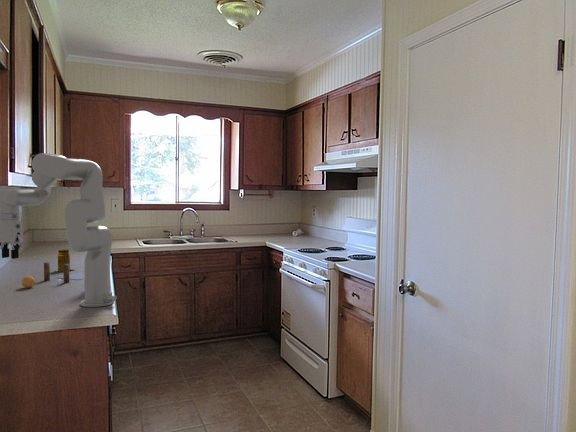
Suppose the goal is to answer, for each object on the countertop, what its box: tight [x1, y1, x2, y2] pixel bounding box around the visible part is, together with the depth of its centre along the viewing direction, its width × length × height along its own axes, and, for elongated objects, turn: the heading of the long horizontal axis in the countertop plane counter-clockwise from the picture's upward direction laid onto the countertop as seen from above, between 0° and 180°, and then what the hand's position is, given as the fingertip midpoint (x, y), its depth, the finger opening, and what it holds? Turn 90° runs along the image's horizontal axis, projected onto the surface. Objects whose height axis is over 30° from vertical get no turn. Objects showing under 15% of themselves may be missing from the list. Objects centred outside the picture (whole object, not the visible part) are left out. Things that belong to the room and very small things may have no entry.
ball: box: [21, 275, 36, 289], centre depth 206 cm, size 6×6×6 cm
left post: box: [43, 261, 51, 282], centre depth 223 cm, size 3×3×9 cm
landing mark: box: [56, 272, 85, 281], centre depth 234 cm, size 14×14×1 cm
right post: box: [62, 264, 70, 284], centre depth 219 cm, size 3×3×9 cm
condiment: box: [57, 249, 74, 273], centre depth 251 cm, size 7×8×12 cm
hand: (10, 257), depth 197 cm, fingers open, 4 cm apart
